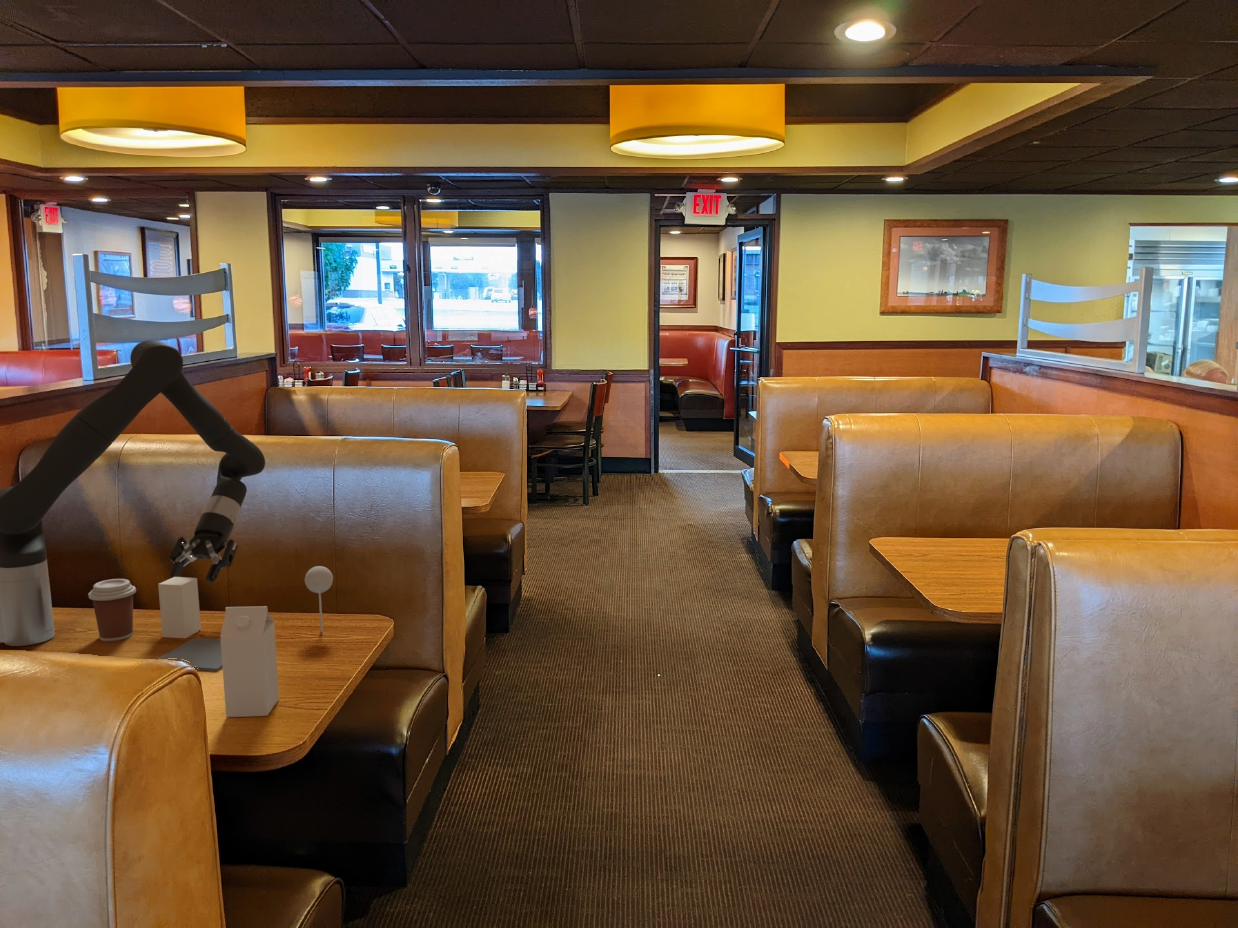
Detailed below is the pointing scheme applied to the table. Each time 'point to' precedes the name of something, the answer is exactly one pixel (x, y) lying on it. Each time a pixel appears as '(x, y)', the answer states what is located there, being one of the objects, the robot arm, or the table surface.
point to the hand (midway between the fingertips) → (191, 580)
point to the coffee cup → (113, 608)
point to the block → (179, 607)
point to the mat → (199, 654)
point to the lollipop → (319, 583)
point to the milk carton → (249, 661)
